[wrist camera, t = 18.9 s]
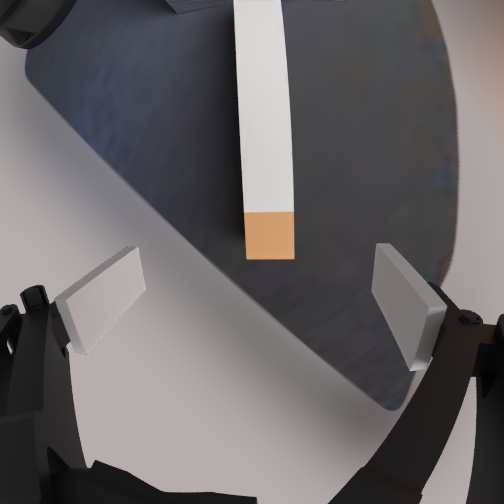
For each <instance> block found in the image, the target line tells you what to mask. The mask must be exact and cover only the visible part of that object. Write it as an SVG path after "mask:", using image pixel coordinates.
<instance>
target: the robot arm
mask: <svg viewBox="0 0 504 504" xmlns="http://www.w3.org/2000/svg"><path fill="white" fill-rule="evenodd" d="M75 1H76V0H0V36H1V37H3V38H4V39H5V40H6V41H8V42H9V43H10V44H11V45H13V46H15V47H18V48H23V49H30V48H33V47H35V46H37V45H38V44H40V43H41V42H42V41H44V40H45V39H46V38H47V37H48V36H49V35H50V34H51V33H52V32H53V31H54V30H55V29H56V28H57V27H58V26H59V25H60V23H61V22H62V21H63V20H64V18H65V17H66V15H67V14H68V13H69V11H70V10H71V8H72V6H73V5H74V3H75ZM145 291H146V286H145V281H144V277H143V272H142V266H141V261H140V255H139V250H138V247H126V248H125V249H123V250H122V251H120V252H119V253H117V254H116V255H114V256H113V257H112V258H110V259H108V260H107V261H105V262H104V263H103V264H101V265H100V266H98V267H97V268H95V269H94V270H93V271H91V272H90V273H88V274H87V275H85V276H84V277H83V278H81V279H80V280H79V281H77V282H76V283H74V284H73V285H72V286H70V287H69V288H68V289H66V290H65V291H64V292H62V293H61V294H60V295H58V296H57V297H56V298H55V301H54V302H53V303H51V304H50V303H49V300H48V297H47V294H46V291H45V288H44V286H42V285H36V286H32V287H29V288H27V289H25V290H24V291H23V292H22V293H21V294H20V296H21V299H22V302H23V305H24V307H25V310H26V313H25V314H20V312H19V310H18V307H17V305H15V304H11V305H6V306H4V307H2V308H1V310H0V504H257V498H256V497H248V496H238V495H229V494H222V493H215V492H195V493H194V492H192V493H191V492H190V493H181V492H180V493H179V492H177V493H176V492H174V493H173V492H163V491H160V490H159V489H157V488H155V487H153V486H151V485H149V484H148V483H146V482H144V481H142V480H141V479H139V478H137V477H135V476H133V475H132V474H131V473H129V472H127V471H124V470H121V469H118V468H116V467H113V466H110V465H108V464H105V463H102V462H100V461H97V460H95V461H94V463H93V465H92V467H91V468H87V466H86V463H85V460H84V455H83V452H82V447H81V442H80V437H79V432H78V427H77V421H76V415H75V409H74V402H73V394H72V386H71V375H70V363H69V352H68V349H67V347H66V345H67V344H68V343H69V342H71V344H72V347H73V349H74V351H75V352H76V353H80V354H84V355H87V354H88V353H89V352H90V351H91V350H92V348H93V347H94V346H95V345H96V344H97V343H98V342H99V341H100V340H101V338H102V337H103V336H104V335H105V334H106V333H107V332H108V331H109V329H110V328H111V327H112V326H113V325H114V324H115V323H116V322H117V321H118V320H119V318H120V317H121V316H122V315H123V314H124V313H125V312H126V311H127V310H128V308H129V307H130V306H131V305H132V304H133V303H134V302H135V301H136V300H137V299H138V298H139V297H140V296H141V295H142V294H143V293H144V292H145ZM371 292H372V293H373V295H374V297H375V299H376V301H377V303H378V305H379V307H380V309H381V311H382V313H383V315H384V317H385V319H386V321H387V323H388V325H389V327H390V329H391V331H392V333H393V335H394V337H395V339H396V342H397V344H398V346H399V348H400V350H401V352H402V354H403V357H404V359H405V361H406V363H407V366H408V368H409V370H410V371H415V370H422V369H427V367H428V364H429V362H430V360H431V357H433V359H432V361H431V363H430V365H429V367H428V369H427V371H426V373H425V375H424V377H423V379H422V381H421V382H420V384H419V386H418V388H417V390H416V391H415V393H414V395H413V397H412V398H411V400H410V402H409V403H408V405H407V407H406V408H405V410H404V412H403V413H402V415H401V416H400V418H399V420H398V421H397V422H396V424H395V426H394V427H393V429H392V430H391V432H390V433H389V434H388V436H387V437H386V439H385V440H384V442H383V443H382V444H381V446H380V447H379V448H378V450H377V451H376V452H375V454H374V455H373V456H372V458H371V459H370V460H369V462H368V463H367V464H366V465H365V466H364V467H362V468H360V469H359V470H358V471H357V473H356V474H355V475H354V476H353V477H352V478H351V479H350V480H349V481H348V483H347V484H346V485H345V486H344V487H343V488H342V489H341V490H340V492H338V494H337V495H336V496H335V497H334V498H333V499H332V500H331V501H330V502H329V503H328V504H419V503H420V501H421V498H422V494H421V492H422V490H423V488H424V486H425V484H426V482H427V480H428V479H429V477H430V475H431V473H432V471H433V470H434V468H435V466H436V464H437V462H438V460H439V458H440V456H441V454H442V451H443V449H444V447H445V445H446V443H447V441H448V438H449V436H450V434H451V431H452V429H453V427H454V424H455V422H456V419H457V416H458V414H459V411H460V408H461V406H462V403H463V400H464V397H465V394H466V391H467V387H468V384H469V381H470V378H471V377H476V389H477V390H476V391H477V414H476V436H475V449H474V459H473V466H472V473H471V480H470V486H469V491H468V497H467V501H466V504H504V314H501V315H500V316H499V319H498V322H497V324H496V325H489V324H483V320H482V318H481V317H480V316H479V315H478V314H476V313H475V312H472V311H469V310H460V309H459V308H458V307H457V306H456V305H455V304H454V303H453V302H452V300H450V298H448V296H447V295H446V294H444V292H443V291H442V290H441V288H440V287H439V286H437V285H435V284H433V283H432V282H426V281H425V280H424V279H423V278H422V277H421V276H420V275H419V274H418V272H417V271H416V270H415V269H414V268H413V267H412V266H411V265H410V264H409V263H408V262H407V261H406V260H405V259H404V258H403V257H402V256H401V255H400V254H399V253H398V252H397V251H396V250H395V248H394V247H393V246H392V245H391V244H376V254H375V264H374V273H373V282H372V290H371ZM7 341H8V343H9V345H10V347H11V349H12V353H11V354H10V351H9V349H8V346H7Z"/></svg>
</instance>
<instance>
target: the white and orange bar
mask: <svg viewBox="0 0 504 504" xmlns="http://www.w3.org/2000/svg"><path fill="white" fill-rule="evenodd" d="M234 19H235V42H236V63H237V85H238V105H239V125H240V145H241V164H242V183H243V201H244V220H245V237H246V255H247V259H294V201H293V167H292V142H291V122H290V104H289V89H288V75H287V62H286V50H285V39H284V28H283V18H282V9H281V0H234Z"/></svg>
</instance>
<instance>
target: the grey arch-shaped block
mask: <svg viewBox="0 0 504 504" xmlns="http://www.w3.org/2000/svg"><path fill="white" fill-rule="evenodd" d="M165 1H166V2H167V3H168V4H169V5H170V6H171V7H172V8H173V9H174V10H175V11H176V12H177V13H178V14H181V13H185V12H190V11H194V10H199V9H204V8H210V7H216V6H222V5H225V0H165ZM327 1H341V2H347V0H327Z"/></svg>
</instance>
